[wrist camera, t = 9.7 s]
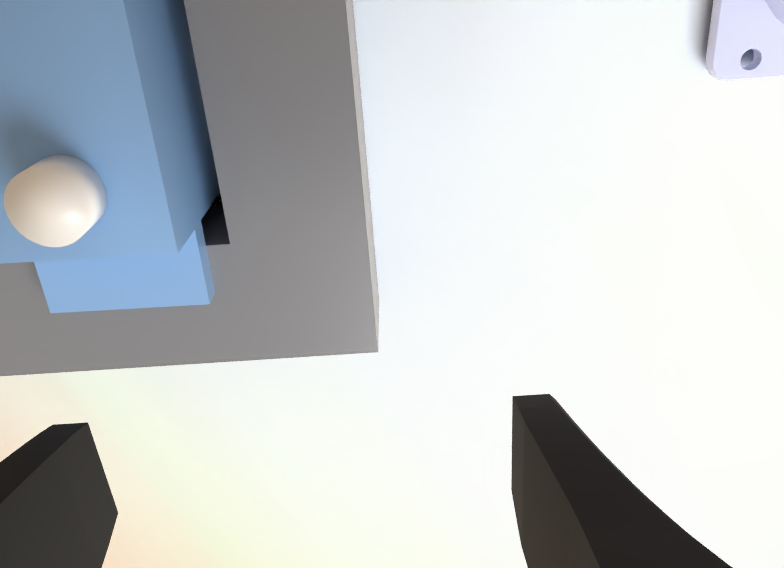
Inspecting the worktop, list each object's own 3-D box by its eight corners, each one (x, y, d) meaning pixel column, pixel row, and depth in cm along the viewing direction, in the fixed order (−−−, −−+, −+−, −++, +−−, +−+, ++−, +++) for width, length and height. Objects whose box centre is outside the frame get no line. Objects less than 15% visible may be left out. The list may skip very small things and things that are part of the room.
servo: (168, -152, 16) (53, -206, 10) (237, 246, 20) (184, 356, 15) (-4, -141, 16) (-207, -188, 10) (104, 254, 20) (1, 366, 15)
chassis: (328, -272, 15) (315, -322, 12) (379, 299, 21) (378, 352, 18) (-214, -226, 15) (-346, -264, 12) (-4, 325, 21) (-62, 380, 18)
